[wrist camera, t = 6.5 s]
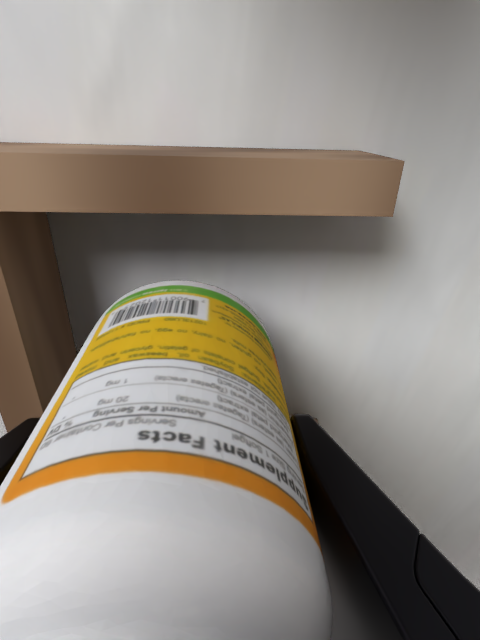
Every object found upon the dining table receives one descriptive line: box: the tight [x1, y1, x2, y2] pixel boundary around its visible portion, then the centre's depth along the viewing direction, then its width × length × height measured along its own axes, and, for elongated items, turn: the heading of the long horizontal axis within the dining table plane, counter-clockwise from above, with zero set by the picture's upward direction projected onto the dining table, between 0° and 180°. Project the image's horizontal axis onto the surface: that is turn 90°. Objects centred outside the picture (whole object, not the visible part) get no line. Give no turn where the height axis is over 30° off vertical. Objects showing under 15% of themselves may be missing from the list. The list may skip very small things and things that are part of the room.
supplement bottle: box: [0, 280, 333, 640], centre depth 7 cm, size 5×5×10 cm
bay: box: [0, 142, 404, 432], centre depth 12 cm, size 10×11×3 cm
